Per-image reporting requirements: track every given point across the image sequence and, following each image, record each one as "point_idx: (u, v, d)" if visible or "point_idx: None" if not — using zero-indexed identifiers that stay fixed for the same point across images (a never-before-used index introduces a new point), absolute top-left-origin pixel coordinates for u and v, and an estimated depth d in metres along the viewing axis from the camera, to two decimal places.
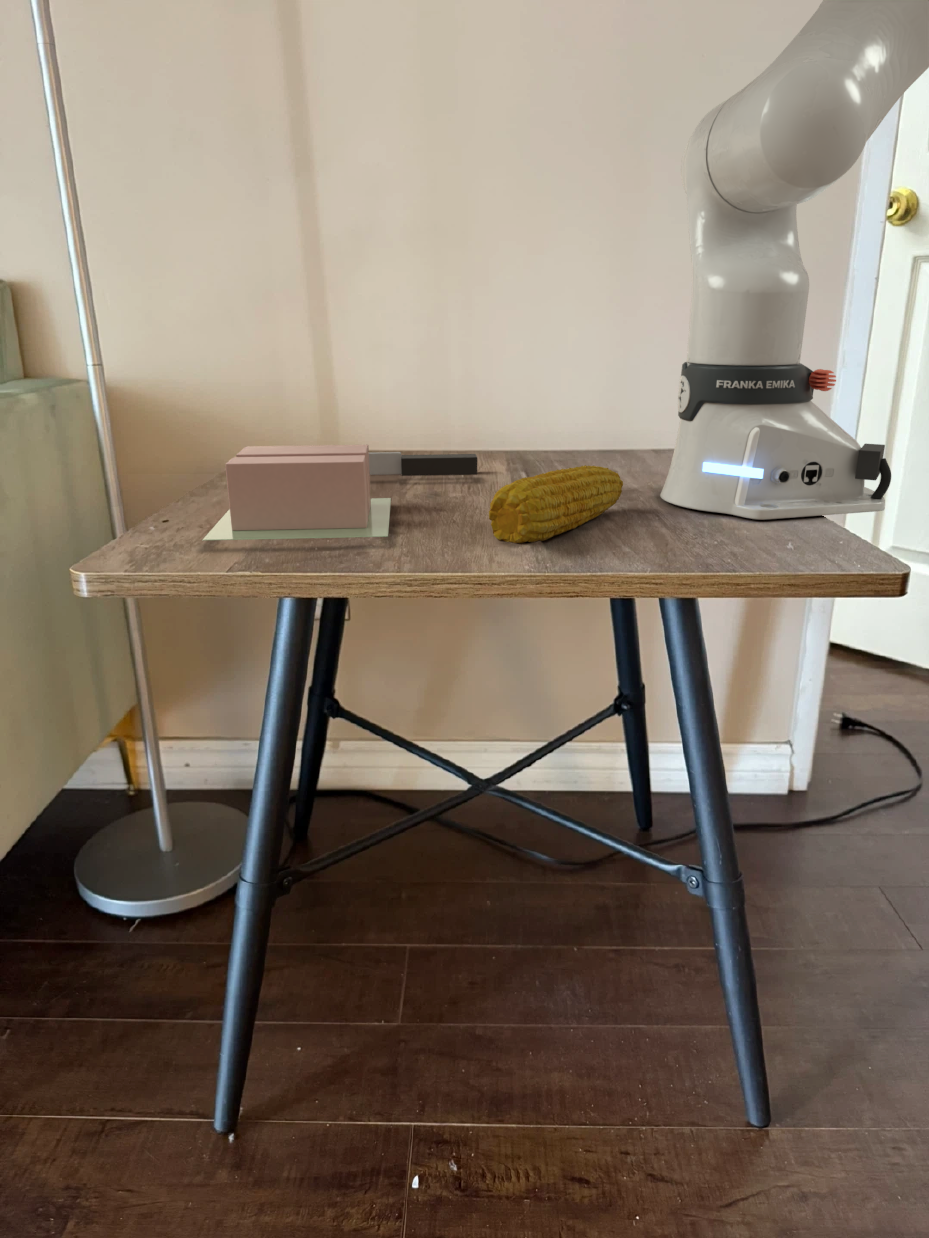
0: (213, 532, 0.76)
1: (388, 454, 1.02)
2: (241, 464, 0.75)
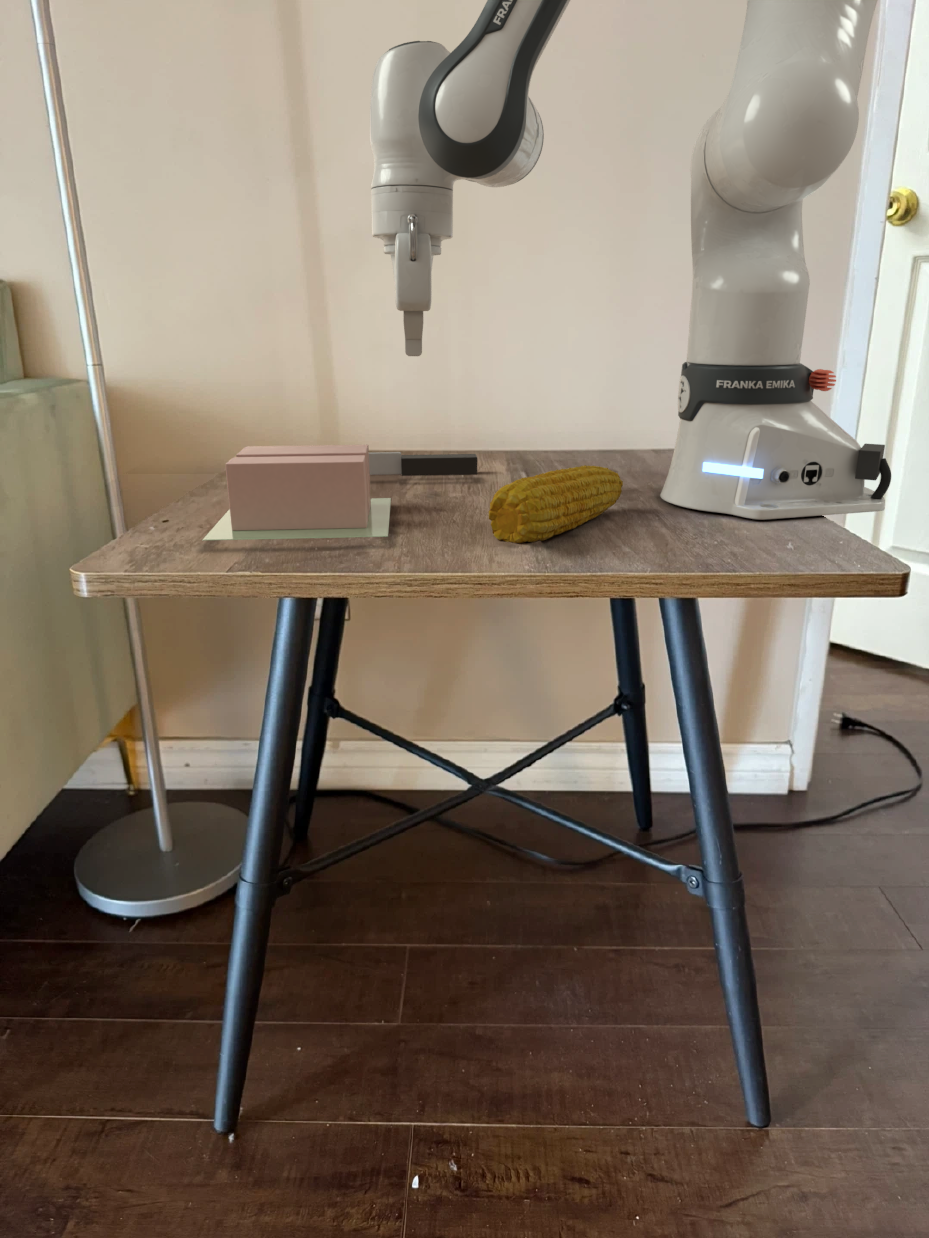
0: (213, 532, 0.76)
1: (388, 454, 1.02)
2: (241, 464, 0.75)
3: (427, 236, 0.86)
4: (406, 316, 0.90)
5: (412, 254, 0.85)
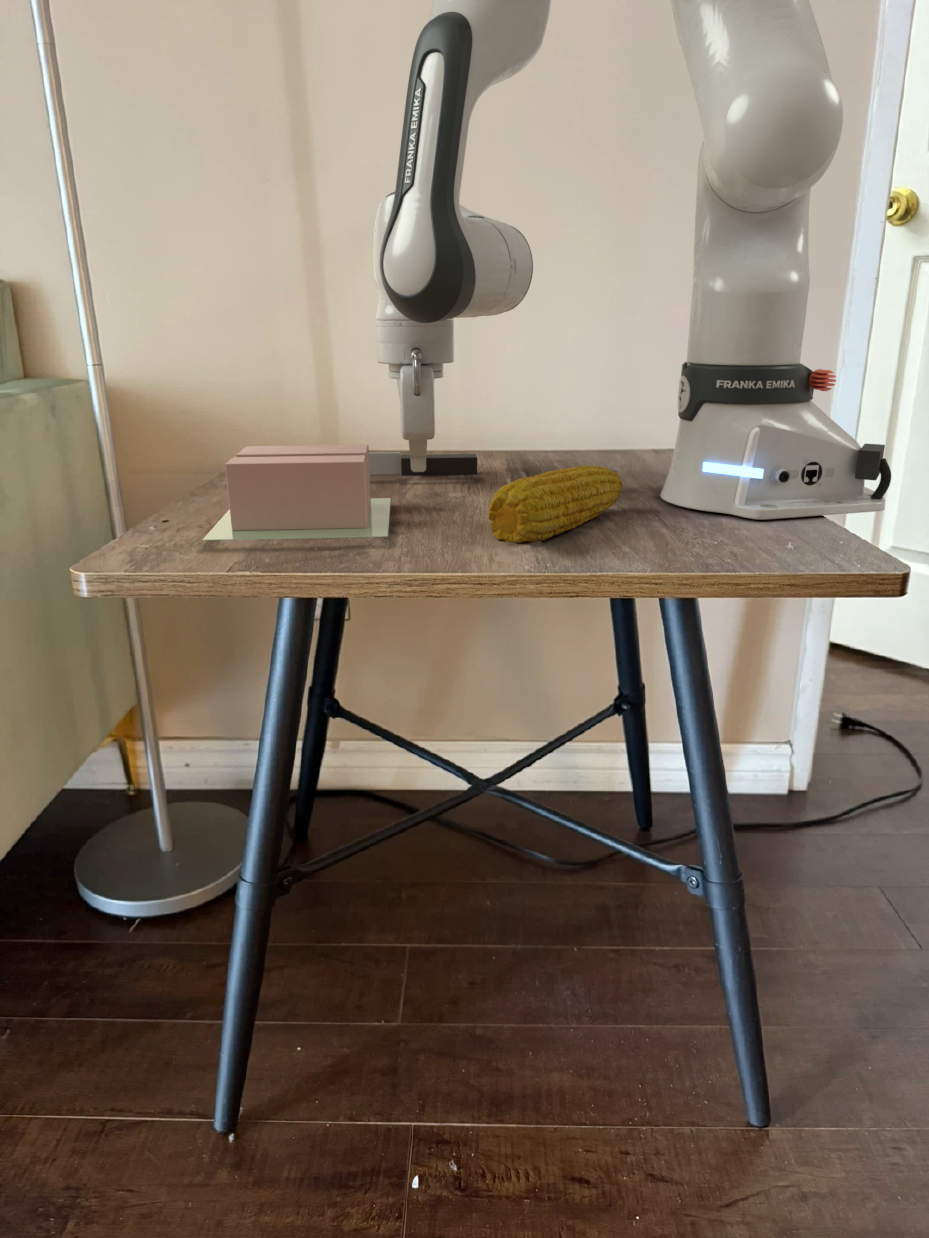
0: (213, 532, 0.76)
1: (388, 454, 1.02)
2: (241, 464, 0.75)
3: (430, 371, 0.91)
4: None
5: (416, 390, 0.90)
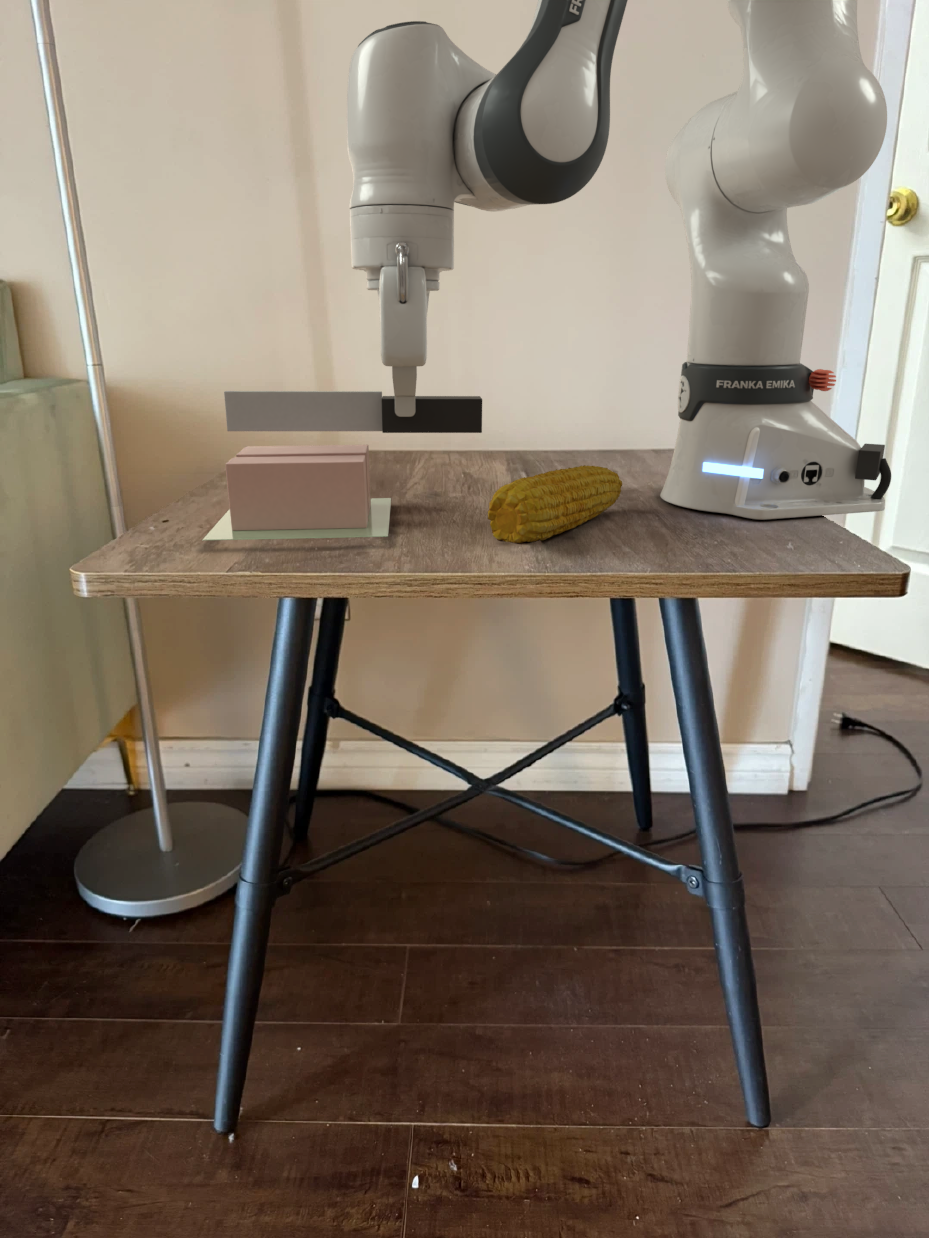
0: (213, 532, 0.76)
1: (365, 393, 0.77)
2: (241, 464, 0.75)
3: (421, 271, 0.66)
4: (395, 369, 0.73)
5: (401, 295, 0.65)
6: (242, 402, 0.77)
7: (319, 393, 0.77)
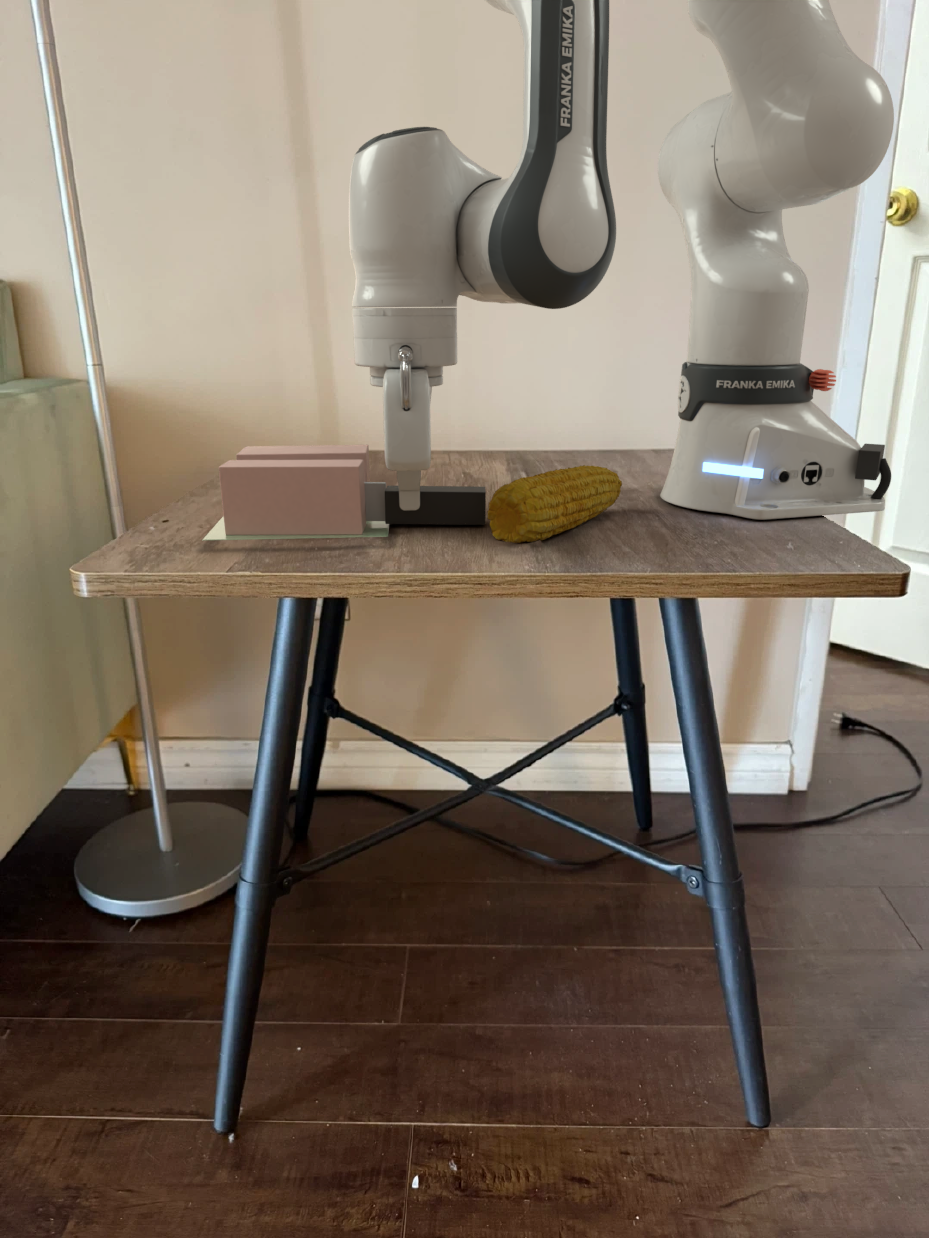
0: (213, 532, 0.76)
1: (368, 485, 0.77)
2: (234, 467, 0.73)
3: (424, 377, 0.66)
4: None
5: (405, 403, 0.65)
6: None
7: None
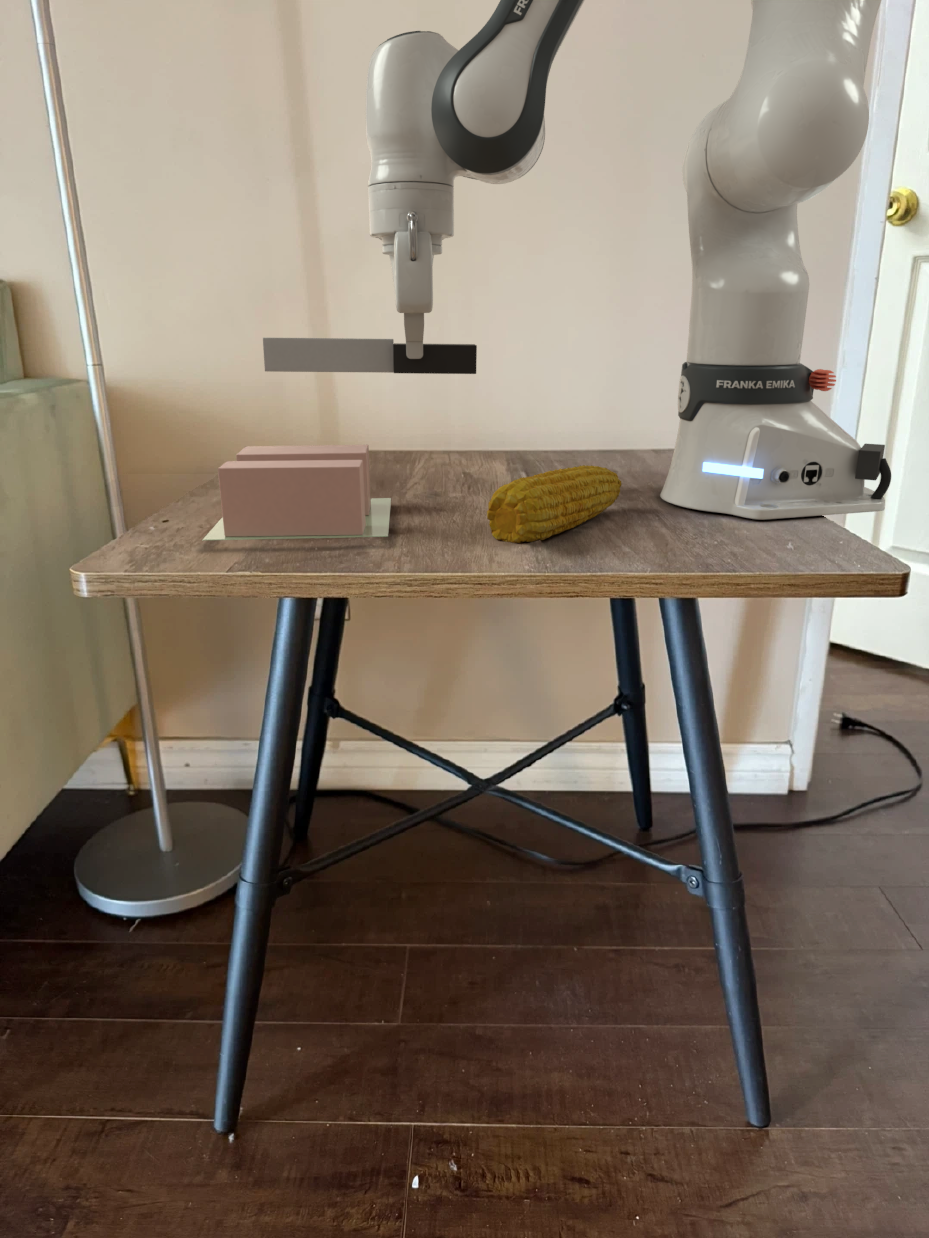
0: (213, 532, 0.76)
1: (379, 340, 0.93)
2: (234, 468, 0.73)
3: (427, 234, 0.82)
4: (407, 318, 0.89)
5: (412, 253, 0.81)
6: (277, 347, 0.93)
7: (341, 340, 0.93)
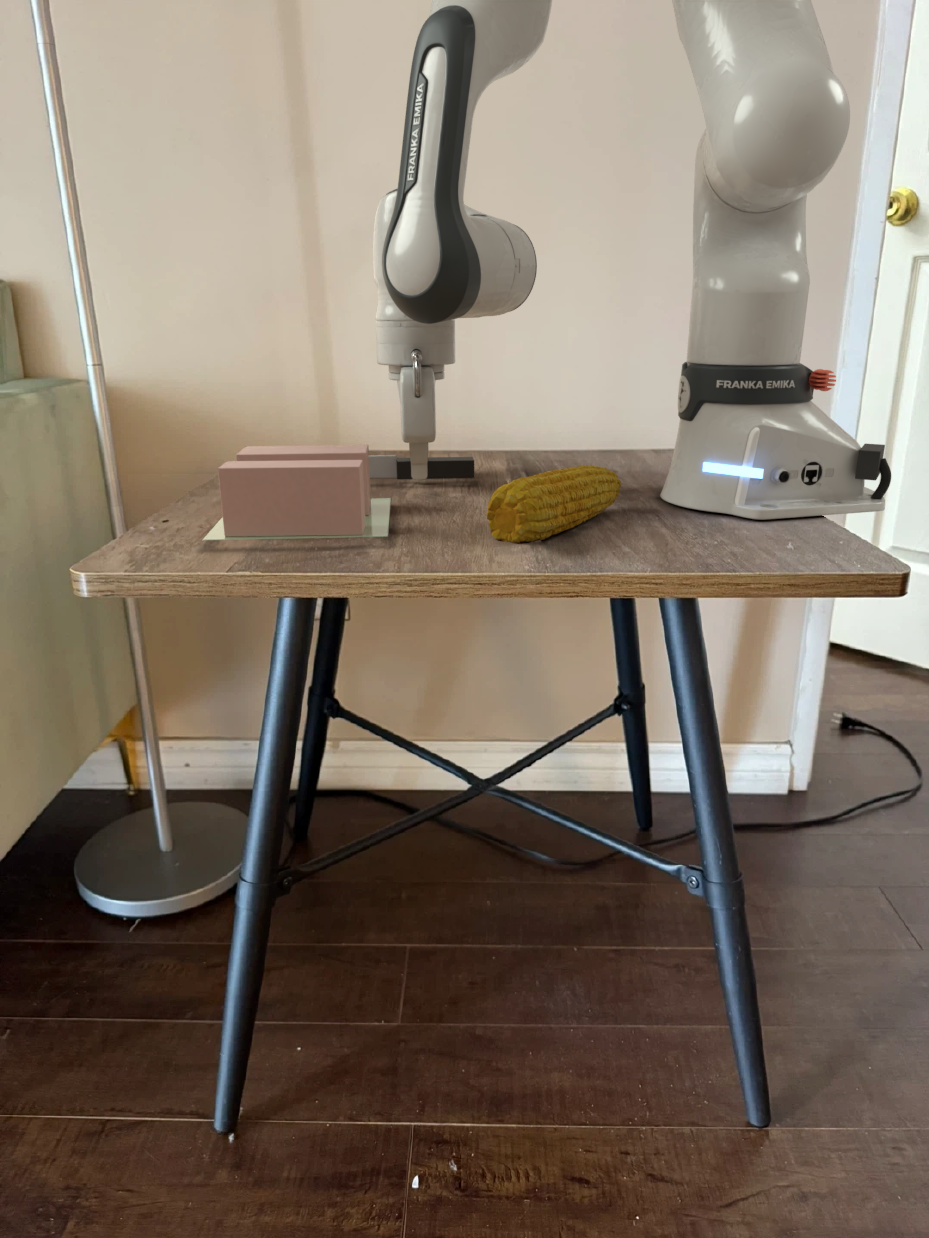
0: (213, 532, 0.76)
1: (383, 457, 1.00)
2: (234, 468, 0.73)
3: (431, 373, 0.89)
4: (412, 444, 0.93)
5: (416, 392, 0.88)
6: None
7: None
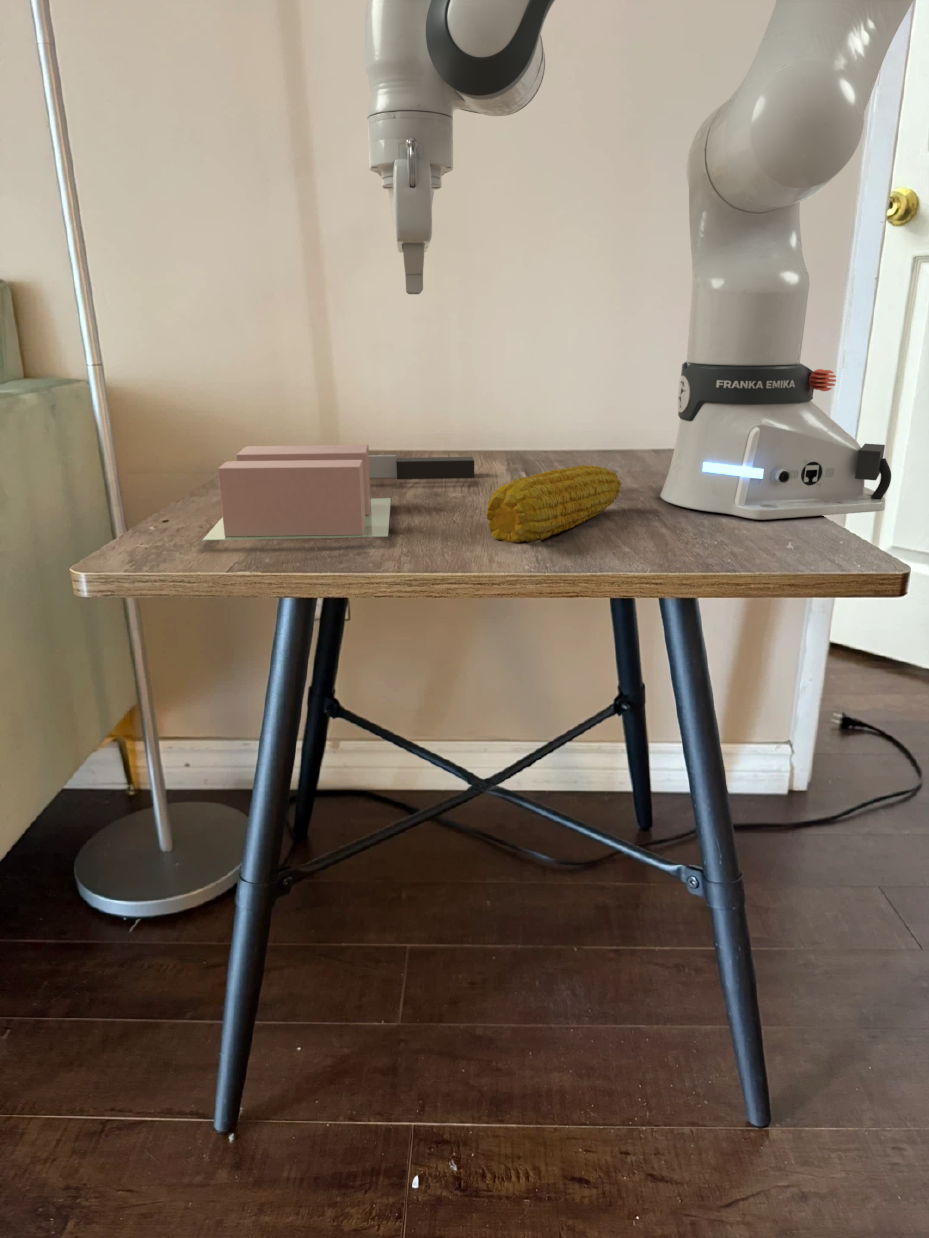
0: (213, 532, 0.76)
1: (383, 457, 1.00)
2: (234, 468, 0.73)
3: (427, 161, 0.82)
4: (406, 249, 0.87)
5: (411, 180, 0.81)
6: None
7: None
